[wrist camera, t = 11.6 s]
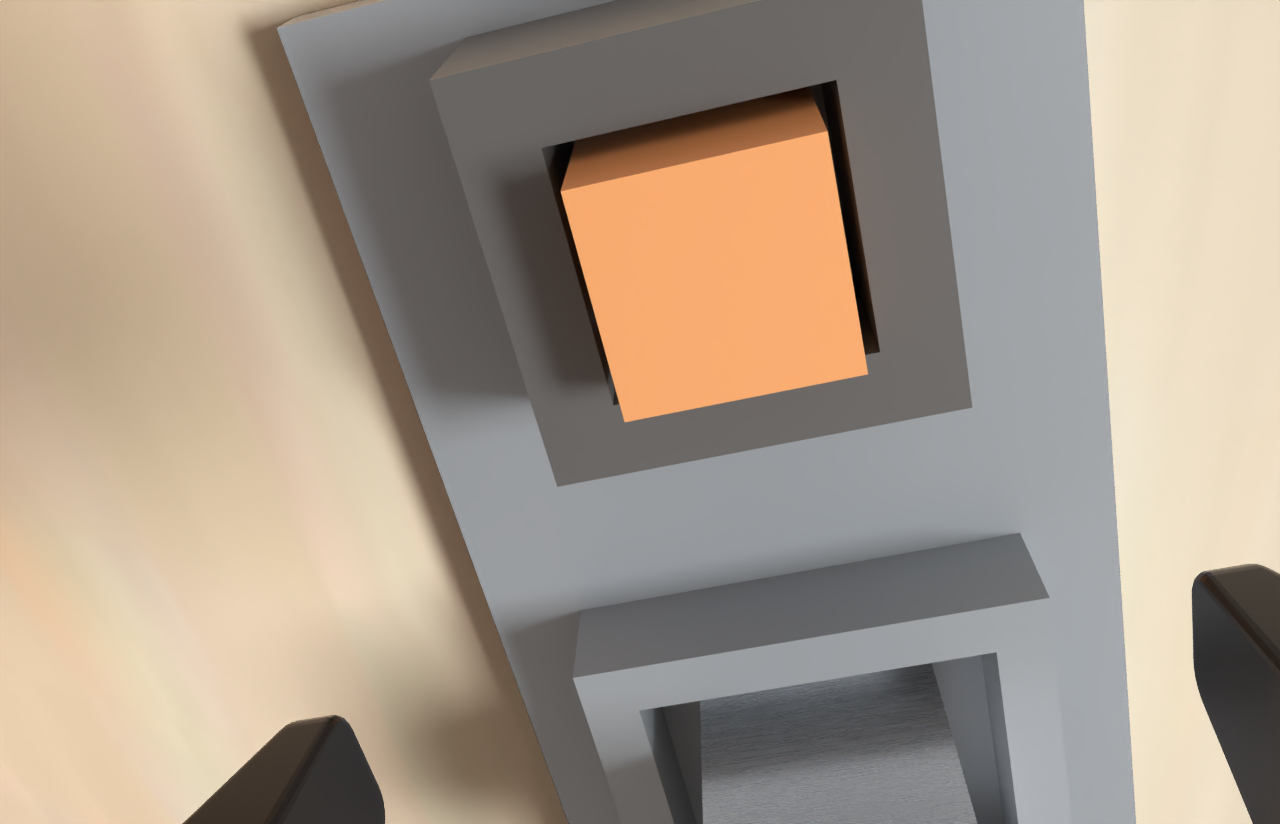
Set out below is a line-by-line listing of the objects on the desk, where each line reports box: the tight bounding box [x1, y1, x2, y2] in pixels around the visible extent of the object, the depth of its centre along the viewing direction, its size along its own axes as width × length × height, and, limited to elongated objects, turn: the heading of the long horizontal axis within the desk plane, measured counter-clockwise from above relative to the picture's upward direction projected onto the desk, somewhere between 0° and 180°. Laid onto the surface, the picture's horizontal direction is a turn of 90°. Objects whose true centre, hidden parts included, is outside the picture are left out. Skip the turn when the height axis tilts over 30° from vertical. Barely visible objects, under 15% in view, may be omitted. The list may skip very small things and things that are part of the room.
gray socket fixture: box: [277, 0, 1136, 824], centre depth 22 cm, size 24×12×4 cm, turn 13°
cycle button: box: [561, 87, 868, 422], centre depth 17 cm, size 3×3×3 cm
